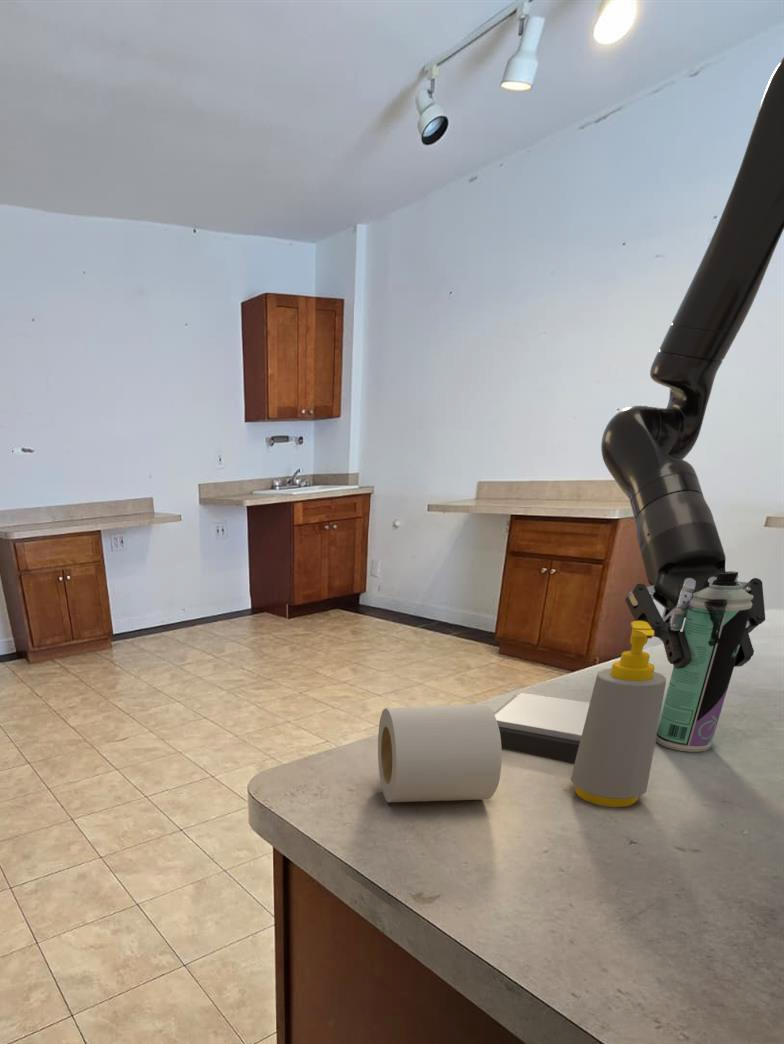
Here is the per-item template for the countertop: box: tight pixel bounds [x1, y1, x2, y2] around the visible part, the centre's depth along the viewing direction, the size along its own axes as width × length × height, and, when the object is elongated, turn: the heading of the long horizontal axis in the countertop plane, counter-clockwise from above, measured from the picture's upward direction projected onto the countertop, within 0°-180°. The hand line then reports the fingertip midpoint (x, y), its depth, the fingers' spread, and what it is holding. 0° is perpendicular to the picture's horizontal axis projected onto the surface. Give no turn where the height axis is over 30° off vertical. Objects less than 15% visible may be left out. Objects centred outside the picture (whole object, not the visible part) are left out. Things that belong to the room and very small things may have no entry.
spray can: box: [655, 570, 753, 753], centre depth 73 cm, size 6×6×20 cm
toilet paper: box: [377, 703, 503, 803], centre depth 67 cm, size 10×10×10 cm
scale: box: [493, 692, 590, 764], centre depth 80 cm, size 16×14×3 cm
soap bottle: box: [570, 620, 667, 808], centre depth 63 cm, size 7×7×18 cm
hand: (712, 663), depth 71 cm, fingers closed on spray can, 5 cm apart
